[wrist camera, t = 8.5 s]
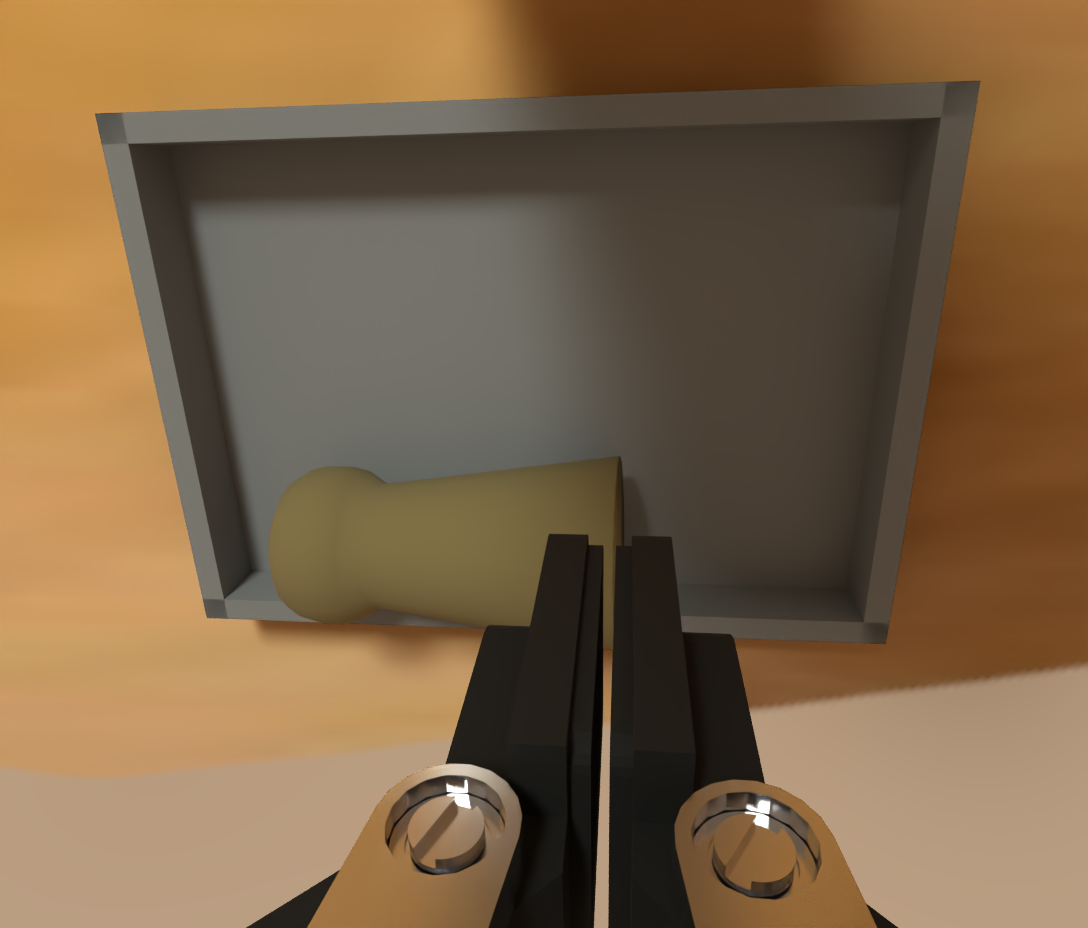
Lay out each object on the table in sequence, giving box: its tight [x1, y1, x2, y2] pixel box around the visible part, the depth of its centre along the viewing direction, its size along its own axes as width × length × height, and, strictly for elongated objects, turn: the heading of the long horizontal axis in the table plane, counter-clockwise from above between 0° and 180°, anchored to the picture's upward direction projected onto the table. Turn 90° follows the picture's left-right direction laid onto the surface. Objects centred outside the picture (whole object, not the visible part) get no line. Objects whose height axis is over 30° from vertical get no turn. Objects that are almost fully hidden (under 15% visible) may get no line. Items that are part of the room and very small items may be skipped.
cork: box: [268, 456, 624, 650], centre depth 24 cm, size 6×6×11 cm
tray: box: [95, 81, 980, 644], centre depth 24 cm, size 24×17×2 cm
